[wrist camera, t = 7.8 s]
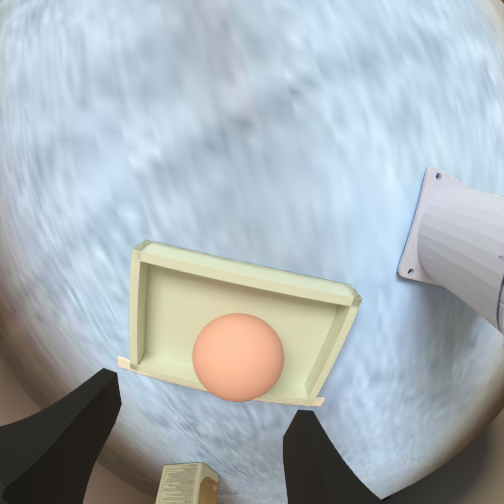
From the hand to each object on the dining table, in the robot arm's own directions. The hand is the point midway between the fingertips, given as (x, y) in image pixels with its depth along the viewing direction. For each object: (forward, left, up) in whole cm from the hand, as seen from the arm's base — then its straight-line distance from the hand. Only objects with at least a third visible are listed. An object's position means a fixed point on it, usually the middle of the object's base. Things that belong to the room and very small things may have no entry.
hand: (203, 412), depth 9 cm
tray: (-1, +2, -9) cm, 10 cm away
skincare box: (0, +26, -10) cm, 28 cm away
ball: (-1, +2, -6) cm, 7 cm away
